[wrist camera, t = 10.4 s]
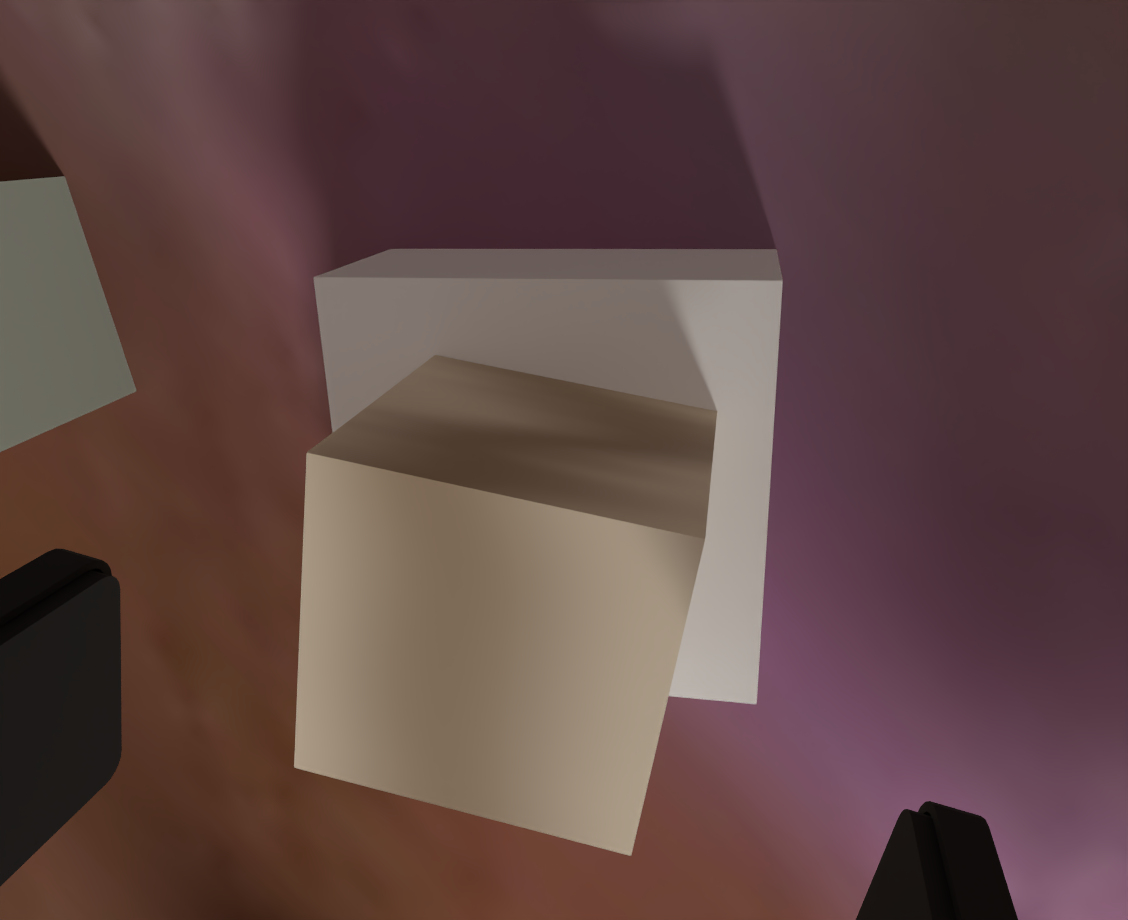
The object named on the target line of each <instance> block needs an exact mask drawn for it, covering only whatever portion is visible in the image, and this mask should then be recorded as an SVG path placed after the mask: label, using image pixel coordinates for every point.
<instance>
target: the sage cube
mask: <svg viewBox="0 0 1128 920" xmlns="http://www.w3.org/2000/svg"><path fill="white" fill-rule="evenodd" d="M134 392H136V388H135V385H134V382H133V379H132V376H131V373H130V370H129V367H128V364H127V361H126V358H125V355H124V352H123V349H122V346H121V343H120V340H119V337H118V334H117V331H116V328H115V325H114V322H113V319H112V316H111V313H110V310H109V307H108V304H107V301H106V298H105V295H104V292H103V289H102V286H101V284H100V281H99V278H98V275H97V272H96V269H95V266H94V263H93V260H92V257H91V254H90V251H89V248H88V245H87V242H86V239H85V236H84V233H83V230H82V227H81V224H80V221H79V218H78V215H77V212H76V209H75V206H74V203H73V200H72V197H71V194H70V191H69V188H68V185H67V182H66V179H65V176H61V177H50V178H38V179H26V180H15V181H3V182H0V452H1V451H3V450H6V449H8V448H10V447H12V446H15V445H17V444H19V443H21V442H24V441H26V440H28V439H30V438H33V437H35V436H37V435H39V434H42V433H44V432H46V431H48V430H51V429H53V428H55V427H57V426H60V425H62V424H64V423H66V422H69V421H71V420H73V419H75V418H77V417H80V416H82V415H84V414H86V413H89V412H91V411H93V410H95V409H98V408H100V407H102V406H104V405H107V404H109V403H111V402H113V401H116V400H118V399H120V398H122V397H125V396H127V395H129V394H131V393H134Z"/></svg>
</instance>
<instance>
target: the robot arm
mask: <svg viewBox="0 0 1128 920" xmlns="http://www.w3.org/2000/svg"><path fill="white" fill-rule="evenodd" d="M121 750H122V747H121V634H120V585H119V582H118V580H117V578H115V577H113V576H112V574H111V569H110V567H109V566H108V564H107V563H106V562H104V561H102V560H99V559H96V558H93V557H89V556H86V555H82V554H79V553H75V552H72V551H69V550H65V549H54V550H51V551H49V552H47V553H45V554H43V555H41V556H40V557H38V558H36V559H34V560H33V561H31V562H29V563H27V564H26V565H24V566H22V567H20V568H19V569H17V570H15V571H13V572H12V573H10V574H8V575H6V576H5V577H3V578H1V579H0V886H1V885H2V884H3V883H4V882H5V881H6V880H7V879H8V878H9V877H10V876H11V875H13V874H14V873H15V872H16V871H17V870H18V869H19V868H20V867H21V866H22V865H23V864H24V863H25V862H26V861H27V860H28V859H29V858H30V857H31V856H32V855H33V854H34V853H35V852H36V851H37V850H38V849H39V848H40V847H41V846H42V845H43V844H44V843H46V842H47V841H48V840H49V839H50V838H51V837H52V836H53V835H54V834H55V833H56V832H57V831H58V830H59V829H60V828H61V827H62V826H63V825H64V824H65V823H66V822H67V821H68V820H69V819H70V818H71V817H72V816H73V815H74V814H75V813H76V812H77V811H78V810H80V809H81V808H82V807H83V806H84V805H85V804H86V803H87V802H88V801H89V800H90V799H91V798H92V797H93V796H94V795H95V794H96V793H97V792H98V791H99V790H100V789H101V788H102V787H103V786H104V785H105V784H106V783H107V782H108V781H109V780H110V779H111V777H112V775H113V774H114V772H115V770H116V768H117V766H118V764H119V761H120V757H121ZM856 920H1018V918H1017V915H1016V912H1015V909H1014V906H1013V902H1012V899H1011V896H1010V893H1009V890H1008V886H1007V883H1006V880H1005V877H1004V874H1003V870H1002V867H1001V864H1000V861H999V857H998V854H997V851H996V848H995V845H994V842H993V838H992V835H991V832H990V829H989V826H988V824H987V822H986V820H985V819H984V818H983V817H981V816H979V815H975V814H972V813H969V812H965V811H962V810H958V809H955V808H951V807H948V806H944V805H941V804H938V803H934V802H931V801H928V802H925V803H924V804H923V805H922V806H921V807H920V809H919V811H918V812H915V811H912V810H908V809H905V810H903V811H902V812H901V814H900V816H899V818H898V820H897V822H896V825H895V827H894V829H893V832H892V834H891V837H890V839H889V841H888V844H887V846H886V849H885V851H884V853H883V856H882V858H881V861H880V863H879V865H878V868H877V870H876V873H875V875H874V877H873V880H872V882H871V885H870V887H869V889H868V892H867V894H866V897H865V899H864V901H863V904H862V906H861V909H860V911H859V913H858V916H857V918H856Z"/></svg>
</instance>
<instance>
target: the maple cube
mask: <svg viewBox="0 0 1128 920" xmlns="http://www.w3.org/2000/svg"><path fill="white" fill-rule="evenodd" d="M716 419H717V411H713V410H708V409H703V408H698V407H693V406H688V405H683V404H678V403H673V402H668V401H663V400H658V399H653V398H648V397H643V396H638V395H633V394H628V393H623V392H618V391H613V390H608V389H603V388H599V387H594V386H588V385H583V384H578V383H573V382H568V381H563V380H558V379H553V378H548V377H543V376H538V375H533V374H528V373H523V372H518V371H513V370H508V369H503V368H498V367H493V366H488V365H483V364H478V363H473V362H468V361H463V360H458V359H453V358H448V357H443V356H438V355H434V356H433V357H432V358H430V359H429V360H428V361H426V362H425V363H424V364H422V365H421V366H420V367H418V368H417V369H416V370H415V371H413V372H412V373H411V374H409V375H408V376H407V377H405V378H404V379H403V380H401V381H400V382H399V383H397V384H396V385H395V386H394V387H392V388H391V389H390V390H388V391H387V392H386V393H384V394H383V395H382V396H380V397H379V398H378V399H376V400H375V401H374V402H373V403H371V404H370V405H369V406H367V407H366V408H365V409H363V410H362V411H361V412H359V413H358V414H357V415H355V416H354V417H353V418H352V419H350V420H349V421H348V422H346V423H345V424H344V425H342V426H341V427H340V428H338V429H337V430H336V431H334V432H333V433H332V434H331V435H329V436H328V437H327V438H325V439H324V440H323V441H321V442H320V443H319V444H317V445H316V446H315V447H313V448H312V449H311V450H310V451H308V452H307V459H306V484H305V509H304V534H303V560H302V585H301V610H300V635H299V660H298V685H297V711H296V736H295V761H294V768H298V769H302V770H306V771H309V772H313V773H317V774H321V775H325V776H328V777H332V778H336V779H340V780H344V781H347V782H351V783H355V784H359V785H363V786H367V787H370V788H374V789H378V790H382V791H386V792H389V793H393V794H397V795H401V796H405V797H408V798H412V799H416V800H420V801H424V802H428V803H431V804H435V805H439V806H443V807H447V808H450V809H454V810H458V811H462V812H466V813H469V814H473V815H477V816H481V817H485V818H488V819H492V820H496V821H500V822H504V823H508V824H511V825H515V826H519V827H523V828H527V829H530V830H534V831H538V832H542V833H546V834H549V835H553V836H557V837H561V838H565V839H569V840H572V841H576V842H580V843H584V844H588V845H591V846H595V847H599V848H603V849H607V850H610V851H614V852H618V853H622V854H626V855H629V856H631V854H632V850H633V845H634V841H635V837H636V833H637V828H638V824H639V820H640V815H641V811H642V807H643V803H644V798H645V794H646V790H647V786H648V781H649V777H650V773H651V768H652V764H653V760H654V756H655V751H656V747H657V743H658V739H659V734H660V730H661V726H662V721H663V717H664V713H665V709H666V704H667V700H668V696H669V692H670V687H671V683H672V679H673V674H674V670H675V666H676V662H677V657H678V653H679V649H680V645H681V640H682V636H683V632H684V627H685V623H686V619H687V615H688V610H689V606H690V602H691V598H692V593H693V589H694V585H695V580H696V576H697V572H698V568H699V563H700V559H701V555H702V551H703V546H704V542H705V536H706V525H707V514H708V504H709V493H710V483H711V472H712V462H713V451H714V440H715V430H716Z"/></svg>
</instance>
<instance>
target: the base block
mask: <svg viewBox="0 0 1128 920" xmlns="http://www.w3.org/2000/svg"><path fill="white" fill-rule="evenodd" d="M313 278H314V286H315V294H316V302H317V310H318V318H319V326H320V335H321V343H322V351H323V359H324V367H325V375H326V383H327V391H328V399H329V408H330V416H331V424H332V432H334V431H336V430H337V429H338V428H340V427H341V426H342V425H344V424H345V423H346V422H348V421H349V420H350V419H352V418H353V417H354V416H355V415H357V414H358V413H359V412H361V411H362V410H363V409H365V408H366V407H367V406H369V405H370V404H371V403H373V402H374V401H375V400H376V399H378V398H379V397H380V396H382V395H383V394H384V393H386V392H387V391H388V390H390V389H391V388H392V387H394V386H395V385H396V384H397V383H399V382H400V381H401V380H403V379H404V378H405V377H407V376H408V375H409V374H411V373H412V372H413V371H415V370H416V369H417V368H418V367H420V366H421V365H422V364H424V363H425V362H426V361H428V360H429V359H430V358H432V357H433V356H434V355H438V356H443V357H448V358H453V359H458V360H463V361H468V362H473V363H478V364H483V365H488V366H493V367H498V368H503V369H508V370H513V371H518V372H523V373H528V374H533V375H538V376H543V377H548V378H553V379H558V380H563V381H568V382H573V383H578V384H583V385H588V386H594V387H599V388H603V389H608V390H613V391H618V392H623V393H628V394H633V395H638V396H643V397H648V398H653V399H658V400H663V401H668V402H673V403H678V404H683V405H688V406H693V407H698V408H703V409H708V410H713V411H717V419H716V430H715V440H714V451H713V462H712V472H711V483H710V493H709V504H708V514H707V525H706V536H705V542H704V546H703V551H702V555H701V559H700V563H699V568H698V572H697V576H696V580H695V585H694V589H693V593H692V598H691V602H690V606H689V610H688V615H687V619H686V623H685V627H684V632H683V636H682V640H681V645H680V649H679V653H678V657H677V662H676V666H675V670H674V674H673V679H672V683H671V687H670V692H669V696H675V697H685V698H696V699H706V700H717V701H728V702H738V703H749V704H757V688H758V672H759V655H760V639H761V623H762V607H763V591H764V575H765V559H766V542H767V526H768V510H769V494H770V478H771V462H772V445H773V429H774V413H775V397H776V381H777V365H778V349H779V332H780V316H781V300H782V284H783V280H782V275H781V269H780V264H779V259H778V254H777V249H389V250H386V251H384V252H381V253H378V254H376V255H373V256H370V257H367V258H365V259H362V260H359V261H356V262H354V263H351V264H348V265H345V266H343V267H340V268H337V269H335V270H332V271H329V272H326V273H324V274H321V275H318V276H315V277H313Z"/></svg>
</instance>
